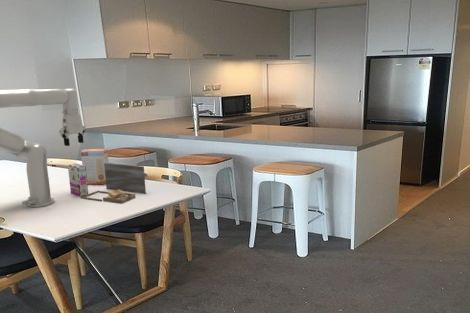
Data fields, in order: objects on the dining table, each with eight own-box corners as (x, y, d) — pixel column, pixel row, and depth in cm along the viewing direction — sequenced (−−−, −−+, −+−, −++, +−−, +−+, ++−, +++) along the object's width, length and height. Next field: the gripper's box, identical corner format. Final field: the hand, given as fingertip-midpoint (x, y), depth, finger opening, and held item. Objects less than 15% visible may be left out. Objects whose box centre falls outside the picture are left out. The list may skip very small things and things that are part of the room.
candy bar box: (89, 194, 221) (86, 165, 218) (80, 197, 218) (77, 167, 214) (78, 191, 229) (75, 162, 225) (70, 193, 225) (67, 164, 222)
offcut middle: (117, 203, 203) (117, 199, 202) (106, 199, 208) (106, 196, 208) (128, 199, 208) (128, 195, 208) (118, 196, 214) (117, 192, 213)
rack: (121, 206, 200) (118, 175, 197) (81, 200, 211) (77, 171, 208) (145, 195, 218) (143, 166, 214) (107, 190, 228) (105, 162, 225)
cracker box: (110, 182, 246) (107, 148, 241) (106, 185, 240) (103, 150, 236) (88, 182, 247) (85, 148, 243) (83, 185, 241) (80, 150, 237)
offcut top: (114, 198, 203) (114, 195, 202) (108, 195, 209) (108, 191, 208) (125, 196, 206) (125, 192, 206) (119, 193, 213) (119, 189, 212)
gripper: (63, 114, 205) (66, 147, 208) (88, 110, 220) (91, 141, 224) (52, 113, 208) (56, 146, 211) (77, 110, 223) (81, 141, 227)
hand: (74, 144), depth 217 cm, fingers open, 9 cm apart
